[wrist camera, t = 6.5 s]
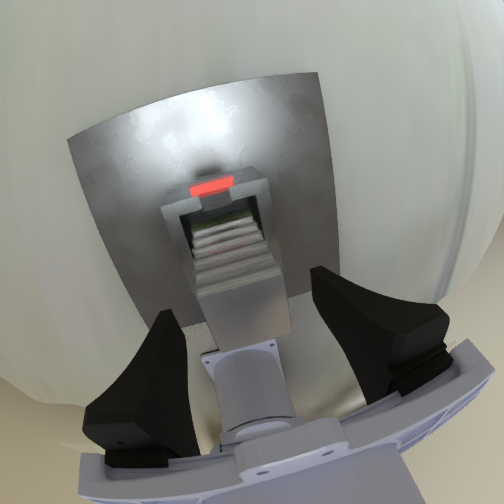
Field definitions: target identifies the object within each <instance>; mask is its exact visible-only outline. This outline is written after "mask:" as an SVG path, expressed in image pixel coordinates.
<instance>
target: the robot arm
mask: <svg viewBox="0 0 504 504" xmlns="http://www.w3.org/2000/svg"><path fill="white" fill-rule="evenodd" d="M310 276H311V286H312V297H313V301H314V303H315V305H316V308H317V310H318V312H319V314H320V315H321V317H322V319H323V320H324V322H325V323H326V325H327V326H328V328H329V329H330V331H331V332H332V334H333V335H334V337H335V338H336V340H337V341H338V343H339V344H340V346H341V347H342V349H343V351H344V353H345V355H346V357H347V359H348V361H349V363H350V365H351V367H352V369H353V371H354V374H355V376H356V378H357V380H358V383H359V385H360V387H361V390H362V392H363V395H364V397H365V400H366V403H367V405H368V406H366V407H364V408H362V409H360V410H357V411H355V412H353V413H351V414H348V415H346V416H343V417H341V418H339V419H337V418H334V417H324V418H321V419H317V420H313V421H310V422H307V423H304V420H303V418H302V417H297V415H296V412H295V409H294V407H293V404H292V401H291V399H290V396H289V393H288V390H287V388H286V385H285V379H284V375H283V370H282V366H281V361H280V357H279V352H278V348H277V343H276V339H271V340H268V341H265V342H261V343H258V344H254V345H251V346H247V347H244V348H240V349H236V350H233V351H229V352H225V353H221V352H220V351H216V352H212V353H208V354H204V355H202V356H201V361H202V363H203V364H204V366H205V368H206V370H207V372H208V373H209V375H210V377H211V379H212V380H213V382H214V384H215V388H216V394H217V401H218V407H219V413H220V419H221V425H222V431H223V433H221V434H220V437H221V443H222V444H221V443H219V444H215V445H214V447H213V448H212V450H211V451H210V454H208V455H201V454H200V450H199V447H198V443H197V439H196V435H195V430H194V426H193V421H192V415H191V410H190V403H189V397H188V361H187V346H186V339H185V335H184V333H183V331H182V330H181V328H180V326H179V324H178V322H177V320H176V318H175V316H174V314H173V312H172V310H171V309H167V310H163V311H160V312H159V314H158V316H157V317H156V319H155V321H154V323H153V325H152V327H151V329H150V331H149V333H148V335H147V336H146V338H145V340H144V342H143V343H142V345H141V347H140V348H139V350H138V352H137V353H136V355H135V357H134V358H133V359H132V361H131V362H130V364H129V365H128V366H127V368H126V369H125V370H124V371H123V373H122V374H121V375H120V376H119V377H118V378H117V380H116V381H115V382H114V383H113V384H112V385H111V386H110V387H109V388H108V389H107V390H106V391H105V392H104V393H103V394H101V395H100V396H99V397H98V398H97V399H95V400H94V401H93V402H92V403H90V404H89V405H88V406H86V409H85V415H84V421H83V427H82V430H83V432H84V434H85V435H86V436H87V437H88V438H89V439H90V440H92V441H93V442H94V443H96V444H97V445H99V446H100V447H102V448H103V449H105V455H102V454H97V453H81V458H80V469H79V486H78V487H79V488H78V495H79V496H80V497H82V498H85V499H87V500H90V501H92V502H95V503H98V504H426V503H425V501H424V499H423V497H422V495H421V493H420V491H419V489H418V487H417V485H416V484H415V482H414V480H413V478H412V476H411V474H410V472H409V470H408V468H407V466H406V465H405V463H404V461H403V459H402V457H401V455H400V454H401V453H403V452H405V451H406V450H408V449H409V448H411V447H412V446H414V445H415V444H417V443H418V442H420V441H421V440H423V439H424V438H426V437H427V436H428V435H430V434H431V433H433V432H434V431H435V430H437V429H438V428H439V427H441V426H442V425H443V424H444V423H446V422H447V421H448V420H449V419H451V418H452V417H453V416H455V415H456V414H457V413H458V412H459V411H461V410H462V409H463V408H464V407H465V406H467V405H468V404H469V403H470V402H471V401H472V400H474V399H475V398H476V397H477V395H478V394H479V393H480V392H481V390H482V389H483V388H484V386H485V385H486V384H487V382H488V381H489V380H490V378H491V377H492V375H493V374H494V373H495V368H494V367H493V366H492V365H491V364H490V363H489V361H488V360H487V359H486V358H485V357H484V356H483V355H482V353H480V351H479V350H478V349H477V348H476V347H475V346H474V345H473V343H472V342H470V340H469V339H466V340H464V341H463V342H462V343H460V344H459V345H457V346H456V347H455V348H453V349H452V350H451V351H450V353H448V352H447V351H446V350H445V349H446V348H447V345H446V344H445V343H444V342H443V340H444V337H445V335H446V332H447V329H448V326H449V322H450V321H449V320H450V318H449V316H448V315H447V314H446V313H445V312H444V311H443V310H442V309H441V308H440V307H439V306H438V305H437V304H426V303H416V302H409V301H404V300H399V299H395V298H391V297H388V296H384V295H381V294H378V293H376V292H373V291H370V290H368V289H365V288H363V287H361V286H359V285H356V284H354V283H352V282H350V281H348V280H347V279H345V278H343V277H341V276H339V275H337V274H336V273H334V272H332V271H330V270H328V269H327V268H325V267H323V266H321V265H320V266H317V267H314V268H311V269H310ZM272 343H273V344H272Z"/></svg>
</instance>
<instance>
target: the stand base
mask: <svg viewBox="0 0 504 504" xmlns="http://www.w3.org/2000/svg"><path fill="white" fill-rule="evenodd" d="M67 142H68V145H69V149H70V152H71V156H72V159H73V162H74V165H75V168H76V172H77V175H78V178H79V180H80V183H81V186H82V189H83V192H84V195H85V197H86V200H87V203H88V205H89V208H90V210H91V213H92V216H93V218H94V220H95V223H96V225H97V228H98V230H99V232H100V235H101V237H102V239H103V242H104V244H105V246H106V248H107V250H108V253H109V255H110V257H111V259H112V261H113V263H114V265H115V267H116V269H117V271H118V274H119V276H120V278H121V279H122V281H123V283H124V285H125V287H126V289H127V291H128V293H129V295H130V297H131V299H132V300H133V302H134V304H135V306H136V308H137V309H138V311H139V313H140V315H141V316H142V318H143V320H144V322H145V323H146V325H147V327H148V328H149V330H150V329H151V327H152V325H153V323H154V321H155V319H156V317H157V316H158V314H159V312H160V311H163V310H167V309H171V310H172V312H173V314H174V316H175V318H176V320H177V322H178V324H179V326H180V328H182V327H186V326H190V325H194V324H198V323H202V322H206V320H205V317H204V315H203V313H202V310H201V308H200V305H199V303H198V301H197V298H196V296H195V293H194V291H193V286H196V282H195V280H194V277H193V272H194V271H195V268H194V265H193V262H192V259H195V258H194V255H193V252H192V249H193V248H194V246H193V243H192V239H194V238H193V235H192V224H194V216H195V215H198V214H202V213H205V212H209V211H212V210H216V209H219V208H223V207H227V206H230V205H234V204H238V203H241V202H242V203H243V205H244V207H245V208H246V209H249V210H250V211H251V213H252V216H253V219H254V222H257V225H258V230H260V229H261V231H262V234H263V239H267V241H268V246H269V250H272V249H273V251H274V254H275V259H276V263H278V262H280V263H281V265H282V269H283V275H284V281H285V287H286V293H287V298H289V297H293V296H296V295H299V294H302V293H305V292H308V291H311V290H312V286H311V276H310V269H311V268H314V267H317V266H320V265H321V266H323V267H325V268H327V269H328V270H330V271H332V272H334V273H336V274H337V275H339V276H340V262H339V238H338V221H337V208H336V196H335V185H334V175H333V166H332V158H331V150H330V142H329V135H328V128H327V122H326V116H325V110H324V104H323V98H322V93H321V88H320V82H319V77H318V73H317V72H312V73H298V74H287V75H278V76H270V77H263V78H256V79H250V80H244V81H238V82H233V83H228V84H223V85H218V86H213V87H209V88H205V89H201V90H197V91H193V92H189V93H185V94H182V95H178V96H175V97H171V98H168V99H165V100H161V101H158V102H155V103H152V104H149V105H146V106H143V107H141V108H138V109H135V110H132V111H130V112H127V113H124V114H122V115H119V116H117V117H114V118H112V119H110V120H107V121H105V122H102V123H100V124H98V125H96V126H93V127H91V128H89V129H87V130H85V131H83V132H81V133H79V134H77V135H75V136H73V137H71V138H69V139H67Z"/></svg>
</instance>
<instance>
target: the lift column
mask: <svg viewBox="0 0 504 504" xmlns="http://www.w3.org/2000/svg"><path fill="white" fill-rule="evenodd" d="M192 235H193V238H194V239H192V243H193V246H194V248H193V249H192V252H193V255H194V258H195V259H192V262H193V265H194V268H195V271H194V272H193V277H194V280H195V282H196V286H193V291H194V293H195V296H196V298H197V301H198V303H199V305H200V308H201V310H202V313H203V315H204V317H205V320H206V322H207V324H208V327H209V329H210V331H211V333H212V336H213V338H214V340H215V342H216V345H217V347H218V349H219V350H220V352H221V353H225V352H229V351H233V350H236V349H240V348H244V347H247V346H251V345H254V344H258V343H261V342H265V341H268V340H271V339H275V338H278V337H281V336H284V335H287V334H290V333H292V325H291V318H290V312H289V305H288V299H287V293H286V287H285V281H284V275H283V269H282V265H281V263H280V262H278V263H276V259H275V254H274V251H273V249H272V250H269V246H268V241H267V239H263V234H262V231H261V229H260V230H258V225H257V222H254V219H253V216H252V213H251V211H250V210H249V209H246V208H245V207H244V205H243V203H242V202H241V203H238V204H234V205H230V206H227V207H223V208H219V209H216V210H212V211H209V212H205V213H202V214H198V215H195V216H194V224H192Z"/></svg>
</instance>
